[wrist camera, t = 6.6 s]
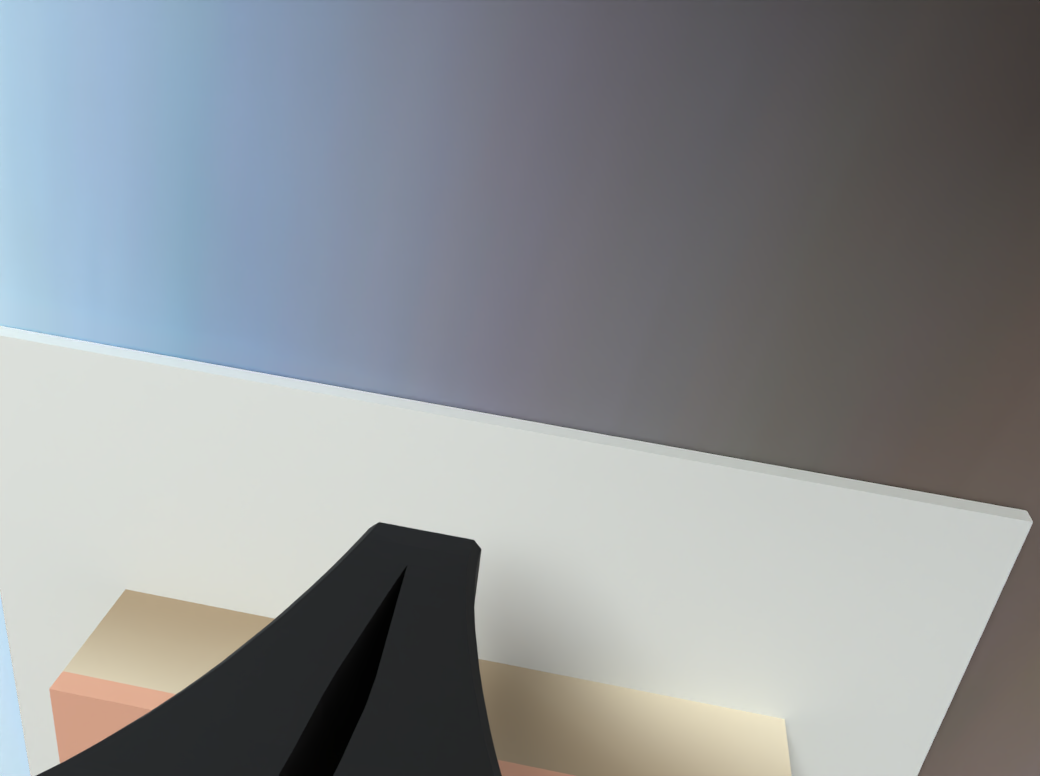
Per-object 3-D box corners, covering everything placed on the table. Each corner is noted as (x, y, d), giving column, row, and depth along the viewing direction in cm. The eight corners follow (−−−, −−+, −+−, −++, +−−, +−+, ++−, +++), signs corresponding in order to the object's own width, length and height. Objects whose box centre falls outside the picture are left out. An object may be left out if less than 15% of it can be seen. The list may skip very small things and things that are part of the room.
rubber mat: (1026, 510, 15) (1033, 522, 15) (782, 1053, 22) (783, 1068, 22) (-32, 320, 16) (-44, 327, 16) (59, 895, 23) (52, 907, 23)
